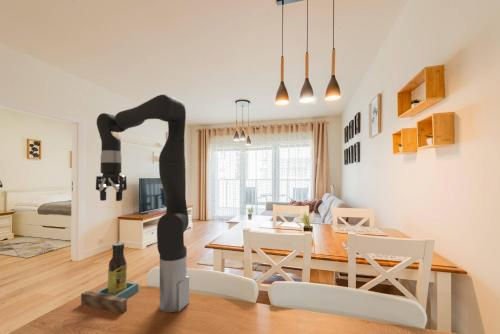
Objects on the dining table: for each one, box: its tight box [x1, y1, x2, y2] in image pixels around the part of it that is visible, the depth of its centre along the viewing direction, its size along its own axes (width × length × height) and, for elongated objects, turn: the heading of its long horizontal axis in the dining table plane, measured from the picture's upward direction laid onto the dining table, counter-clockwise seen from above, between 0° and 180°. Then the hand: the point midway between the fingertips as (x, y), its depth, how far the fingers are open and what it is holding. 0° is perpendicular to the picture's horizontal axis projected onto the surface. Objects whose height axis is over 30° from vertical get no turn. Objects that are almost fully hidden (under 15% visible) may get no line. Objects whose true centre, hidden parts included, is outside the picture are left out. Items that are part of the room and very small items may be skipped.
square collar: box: [95, 281, 139, 300], centre depth 90 cm, size 10×11×3 cm
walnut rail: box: [80, 290, 128, 314], centre depth 83 cm, size 19×2×4 cm, turn 72°
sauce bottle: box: [107, 242, 128, 295], centre depth 91 cm, size 6×6×20 cm
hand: (110, 200), depth 98 cm, fingers open, 8 cm apart
